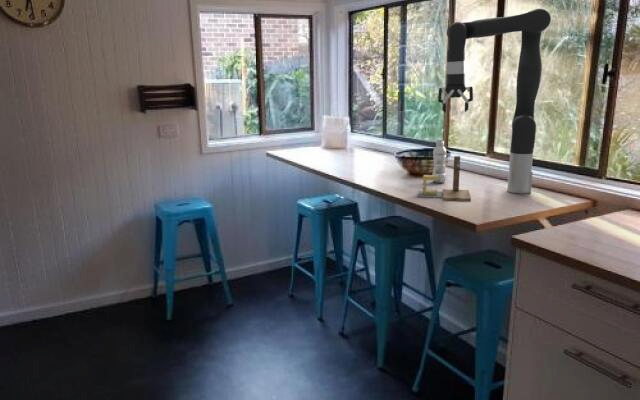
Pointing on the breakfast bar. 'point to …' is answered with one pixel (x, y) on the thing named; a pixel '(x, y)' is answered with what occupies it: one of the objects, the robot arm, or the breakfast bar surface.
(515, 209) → the breakfast bar surface
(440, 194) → the mat
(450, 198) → the stand
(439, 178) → the plastic bottle
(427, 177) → the c link
